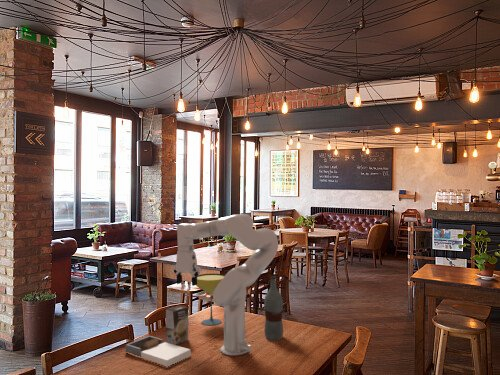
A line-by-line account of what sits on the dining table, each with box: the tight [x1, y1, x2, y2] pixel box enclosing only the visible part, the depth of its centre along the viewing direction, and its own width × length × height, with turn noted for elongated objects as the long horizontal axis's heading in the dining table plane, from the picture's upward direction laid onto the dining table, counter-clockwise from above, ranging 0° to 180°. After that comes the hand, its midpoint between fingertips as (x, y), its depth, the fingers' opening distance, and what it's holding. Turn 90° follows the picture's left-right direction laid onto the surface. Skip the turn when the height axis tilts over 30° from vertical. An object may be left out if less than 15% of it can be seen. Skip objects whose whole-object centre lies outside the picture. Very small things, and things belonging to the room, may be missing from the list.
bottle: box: [263, 275, 284, 341], centre depth 208 cm, size 9×9×30 cm
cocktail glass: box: [195, 273, 226, 327], centre depth 232 cm, size 18×18×25 cm
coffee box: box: [165, 305, 189, 345], centre depth 204 cm, size 9×6×16 cm
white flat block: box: [141, 341, 192, 367], centre depth 184 cm, size 16×14×3 cm
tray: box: [125, 335, 164, 357], centre depth 192 cm, size 10×14×4 cm
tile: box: [139, 337, 159, 352], centre depth 191 cm, size 6×6×3 cm
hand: (186, 284), depth 205 cm, fingers open, 9 cm apart
